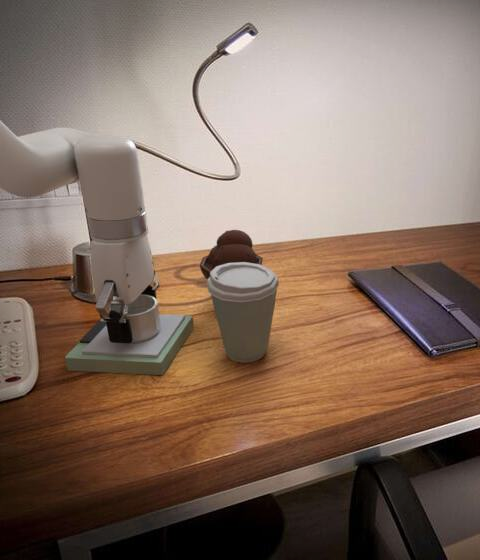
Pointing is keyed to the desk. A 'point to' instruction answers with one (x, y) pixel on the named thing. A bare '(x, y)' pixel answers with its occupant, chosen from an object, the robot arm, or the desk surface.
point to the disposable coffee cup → (243, 307)
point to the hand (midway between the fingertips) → (135, 325)
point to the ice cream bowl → (230, 251)
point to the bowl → (142, 317)
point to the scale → (130, 349)
